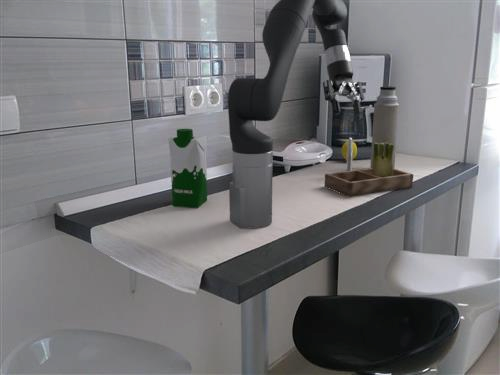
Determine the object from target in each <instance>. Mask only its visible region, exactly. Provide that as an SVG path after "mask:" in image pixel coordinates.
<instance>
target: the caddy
mask: <svg viewBox="0 0 500 375" xmlns="http://www.w3.org/2000/svg"><path fill="white" fill-rule="evenodd" d="M413 180H414V174H413V173H411V172H410V173H409V172H407V171H403V170H399V169H397V168H394V169H393V176H390V177H378V176H375V175H373V171H372V168H370V167H369V168H362V169H353V170H352V171H345V172H341V171H337V172H331V173H325V174H324V188H326V187H327V188H326V189H328V188H330V189H329V190H331V189H332V190H331V191H333V190H335V191H334V192H336V191H337V192H336V193H338V192H340V193H339V194H341V193H342V194H341V195H343V194H344V195H343V196H345V197H348V196H349V197H348V198H351V197H352V196H353V197H357V196H358V197H359V196H365V195H370V194H371V195H372V194H377V193H378V194H379V193H384V192H390V191H398V190H402V189H403V190H404V189H410V188H413V182H414V181H413Z"/></svg>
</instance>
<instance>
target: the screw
mask: <svg viewBox="0 0 500 375" xmlns="http://www.w3.org/2000/svg"><path fill="white" fill-rule="evenodd" d="M347 141H348V148H347V160H346V164H345V165H346V166H345V167H346V168H342V170H341V171H340V172H345V171H352V170H354V169H353V167H352V166H353V159H352V157H353V156H352V152H353V151H352V150H353V149H352V148H353V147H352V146H353V145H352V142H353V138H352V137H349V138H348V140H347Z"/></svg>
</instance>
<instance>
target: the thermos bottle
mask: <svg viewBox="0 0 500 375" xmlns="http://www.w3.org/2000/svg"><path fill="white" fill-rule="evenodd" d="M398 100H399V99H398V96H396V87H395V86H390V85H389V86H388V85H387V86H386V85H385V86H379V95H378V96H376V102H375V103H374V105H373V119H372V120H373V122H372V136H371V152H370V166H369V168H372V163H373V156H374V143H378V148H379V146H380V143H384V152H385V144H386V142H387V143H389V145H390V144H393V145H394V147H393V155H392V161H393V169H396V168H395V163H396V152H397V142H398V141H397V139H398V126H399V113H400V112H399V111H400V104H399V103H398ZM388 149H389V148H388ZM384 152H383V156H384Z"/></svg>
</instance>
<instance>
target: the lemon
mask: <svg viewBox="0 0 500 375" xmlns="http://www.w3.org/2000/svg"><path fill="white" fill-rule="evenodd" d="M348 141H349V140H346V141H345V142H344V143H343V145H342V147H341V155H342V158H343V159H344V160H345V161H347V148H348ZM352 145H353V146H352V147H353V148H352V149H353V150H352V151H353V152H352V156H353V157H352V160H354V159H355V158H357V157H356V156H357V154H358V148H357V144H356V143H355V142H354V141H352Z"/></svg>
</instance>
